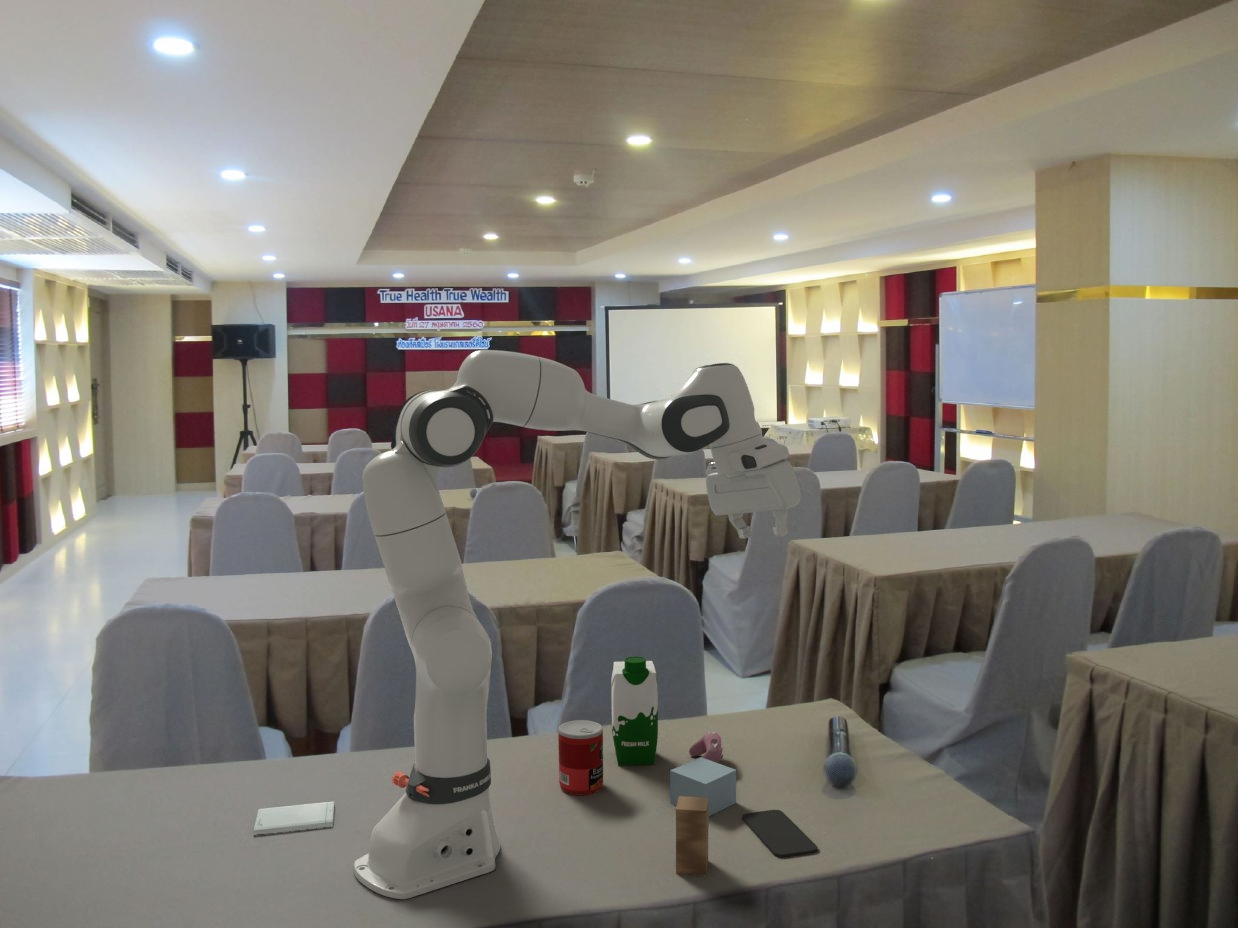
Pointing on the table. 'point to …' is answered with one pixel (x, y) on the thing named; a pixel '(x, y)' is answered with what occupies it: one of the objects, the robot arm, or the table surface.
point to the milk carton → (635, 711)
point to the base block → (704, 783)
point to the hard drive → (294, 818)
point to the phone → (779, 833)
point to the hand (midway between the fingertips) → (763, 536)
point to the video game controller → (708, 747)
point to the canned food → (580, 757)
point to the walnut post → (692, 835)
